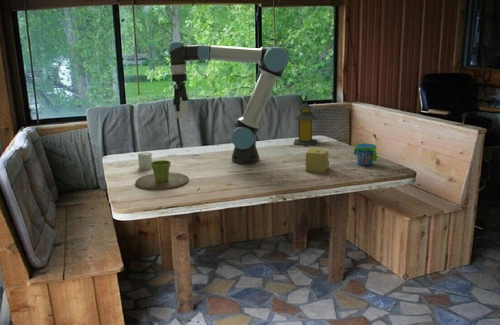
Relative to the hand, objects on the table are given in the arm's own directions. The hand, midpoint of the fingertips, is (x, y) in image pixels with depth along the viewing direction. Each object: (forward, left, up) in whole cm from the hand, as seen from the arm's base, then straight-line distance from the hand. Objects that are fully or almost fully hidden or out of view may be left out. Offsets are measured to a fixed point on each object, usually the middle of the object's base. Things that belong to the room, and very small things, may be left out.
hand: (182, 115), depth 242 cm
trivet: (+4, +26, -29) cm, 39 cm away
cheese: (-69, 0, -28) cm, 74 cm away
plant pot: (+4, +27, -27) cm, 38 cm away
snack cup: (-94, -12, -28) cm, 99 cm away
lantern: (-62, -62, -28) cm, 92 cm away
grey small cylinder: (+20, +4, -28) cm, 34 cm away
